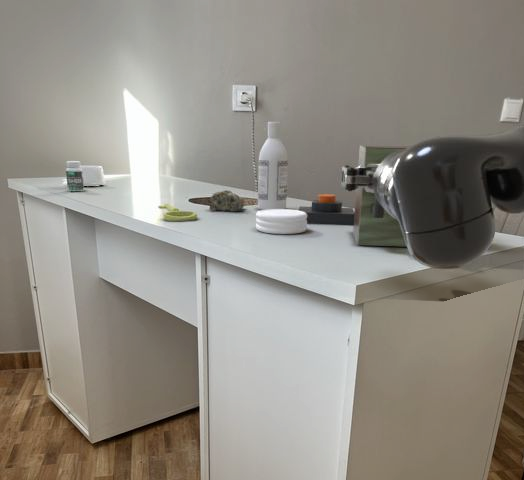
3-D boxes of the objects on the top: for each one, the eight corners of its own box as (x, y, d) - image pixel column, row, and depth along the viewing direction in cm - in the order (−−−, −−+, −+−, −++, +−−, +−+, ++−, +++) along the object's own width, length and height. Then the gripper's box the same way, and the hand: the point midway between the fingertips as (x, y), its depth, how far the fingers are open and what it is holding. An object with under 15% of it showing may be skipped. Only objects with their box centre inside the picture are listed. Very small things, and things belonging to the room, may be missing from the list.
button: (334, 202, 123) (335, 194, 122) (335, 204, 119) (335, 196, 119) (318, 202, 123) (318, 194, 122) (318, 204, 120) (319, 195, 119)
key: (167, 212, 128) (167, 203, 127) (201, 219, 120) (201, 209, 119) (141, 215, 123) (140, 205, 123) (174, 222, 115) (174, 212, 115)
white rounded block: (111, 185, 183) (110, 166, 181) (87, 187, 176) (85, 167, 174) (88, 183, 190) (86, 164, 187) (64, 185, 182) (61, 165, 180)
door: (472, 255, 90) (489, 152, 84) (360, 251, 91) (368, 149, 85) (462, 247, 95) (477, 150, 90) (357, 243, 97) (365, 148, 91)
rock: (215, 207, 139) (215, 188, 137) (246, 208, 138) (246, 189, 136) (208, 211, 132) (208, 191, 131) (240, 212, 131) (240, 192, 130)
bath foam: (286, 207, 140) (289, 122, 133) (285, 211, 134) (289, 122, 127) (258, 207, 141) (260, 121, 133) (257, 210, 134) (258, 121, 127)
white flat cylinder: (317, 231, 108) (318, 213, 107) (277, 236, 103) (277, 217, 101) (284, 224, 116) (285, 207, 114) (245, 228, 110) (245, 210, 109)
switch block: (351, 217, 127) (353, 199, 125) (354, 224, 117) (356, 205, 116) (299, 216, 128) (299, 198, 126) (297, 222, 118) (298, 203, 117)
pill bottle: (66, 191, 164) (63, 161, 161) (68, 190, 169) (65, 160, 165) (83, 191, 165) (80, 162, 162) (85, 190, 169) (82, 161, 166)
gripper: (343, 218, 63) (338, 201, 78) (472, 222, 62) (441, 204, 77) (348, 147, 60) (342, 144, 75) (484, 150, 59) (449, 147, 74)
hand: (392, 175), depth 76 cm, fingers open, 8 cm apart
